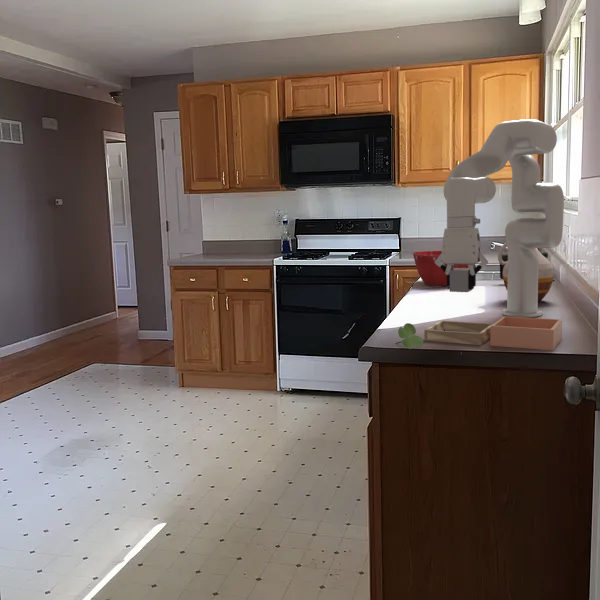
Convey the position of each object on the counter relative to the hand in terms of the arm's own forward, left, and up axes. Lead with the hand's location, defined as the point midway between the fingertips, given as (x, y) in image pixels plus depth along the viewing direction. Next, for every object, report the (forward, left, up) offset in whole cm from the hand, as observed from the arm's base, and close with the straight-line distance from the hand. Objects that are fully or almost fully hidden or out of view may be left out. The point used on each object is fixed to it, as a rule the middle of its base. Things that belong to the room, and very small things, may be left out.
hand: (461, 288), depth 183 cm
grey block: (0, 0, -1) cm, 1 cm away
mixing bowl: (-105, -36, -14) cm, 112 cm away
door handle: (-114, -4, -14) cm, 115 cm away
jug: (-69, +5, -14) cm, 70 cm away
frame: (0, 0, -14) cm, 14 cm away
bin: (0, +18, -14) cm, 23 cm away
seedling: (+15, -13, -14) cm, 25 cm away
